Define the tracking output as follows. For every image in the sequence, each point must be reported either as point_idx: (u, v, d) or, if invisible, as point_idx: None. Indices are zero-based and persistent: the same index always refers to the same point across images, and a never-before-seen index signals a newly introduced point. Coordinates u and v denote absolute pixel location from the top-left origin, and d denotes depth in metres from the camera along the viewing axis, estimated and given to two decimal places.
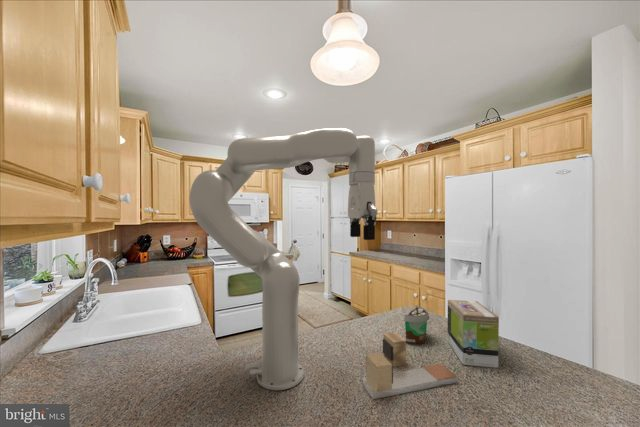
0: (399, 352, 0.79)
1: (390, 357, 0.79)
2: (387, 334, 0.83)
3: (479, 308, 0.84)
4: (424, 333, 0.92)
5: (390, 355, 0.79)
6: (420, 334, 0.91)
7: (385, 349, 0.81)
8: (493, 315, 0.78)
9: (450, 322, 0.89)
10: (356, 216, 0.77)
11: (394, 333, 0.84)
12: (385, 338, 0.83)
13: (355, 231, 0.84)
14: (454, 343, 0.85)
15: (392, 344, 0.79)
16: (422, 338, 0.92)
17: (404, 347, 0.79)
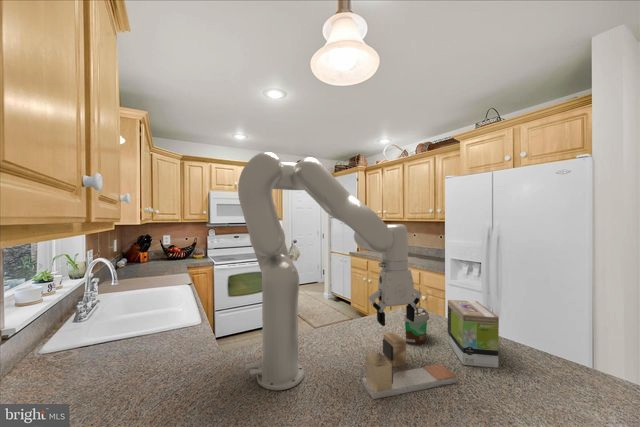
0: (399, 352, 0.79)
1: (390, 357, 0.79)
2: (387, 334, 0.83)
3: (479, 308, 0.84)
4: (424, 333, 0.92)
5: (390, 355, 0.79)
6: (420, 334, 0.91)
7: (385, 349, 0.81)
8: (493, 315, 0.78)
9: (450, 322, 0.89)
10: (408, 302, 0.80)
11: (394, 333, 0.84)
12: (385, 338, 0.83)
13: None
14: (454, 343, 0.85)
15: (392, 344, 0.79)
16: (422, 338, 0.92)
17: (404, 347, 0.79)
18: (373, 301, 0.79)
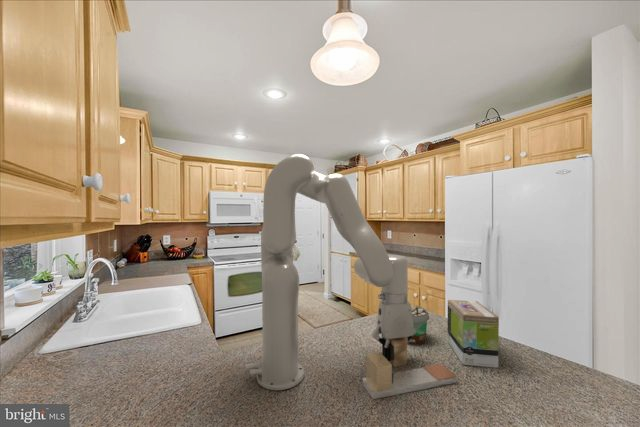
0: (399, 351, 0.79)
1: (391, 357, 0.79)
2: None
3: (479, 308, 0.84)
4: (424, 333, 0.92)
5: (391, 355, 0.79)
6: (420, 334, 0.91)
7: None
8: (493, 315, 0.78)
9: (450, 322, 0.89)
10: (407, 335, 0.79)
11: None
12: None
13: None
14: (454, 343, 0.85)
15: (393, 344, 0.79)
16: (422, 338, 0.92)
17: (405, 347, 0.79)
18: (377, 338, 0.79)
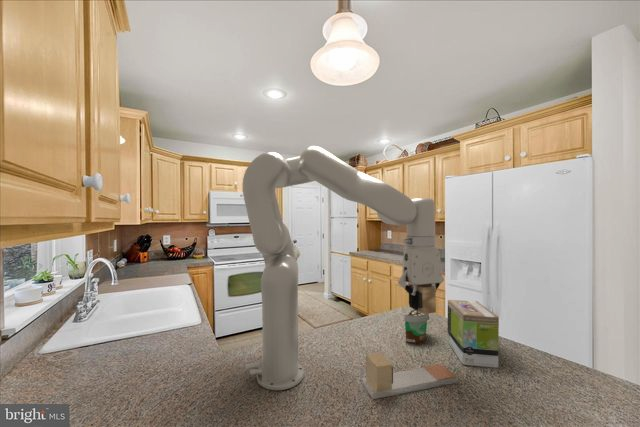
0: (428, 298, 0.73)
1: (419, 304, 0.74)
2: None
3: (479, 308, 0.84)
4: (424, 333, 0.92)
5: (419, 302, 0.73)
6: (420, 334, 0.91)
7: None
8: (493, 315, 0.78)
9: (450, 322, 0.89)
10: (435, 281, 0.74)
11: None
12: None
13: None
14: (454, 343, 0.85)
15: (421, 290, 0.74)
16: (422, 338, 0.92)
17: (434, 294, 0.74)
18: (404, 285, 0.74)
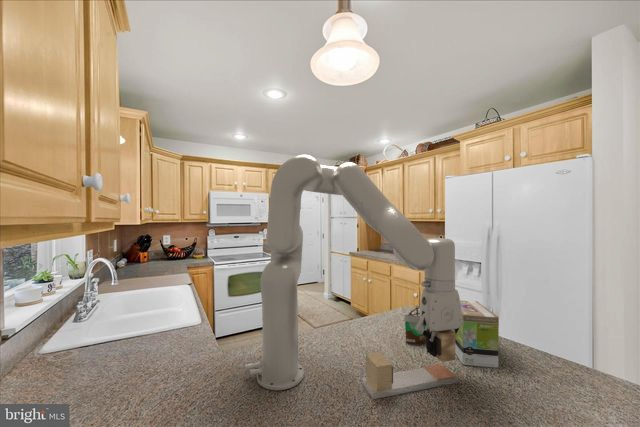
0: (447, 345, 0.70)
1: (438, 351, 0.70)
2: None
3: (479, 308, 0.84)
4: None
5: (438, 349, 0.70)
6: (420, 334, 0.91)
7: None
8: (493, 315, 0.78)
9: None
10: (455, 327, 0.71)
11: None
12: None
13: None
14: None
15: (440, 337, 0.70)
16: (422, 338, 0.92)
17: (453, 340, 0.70)
18: (422, 330, 0.71)
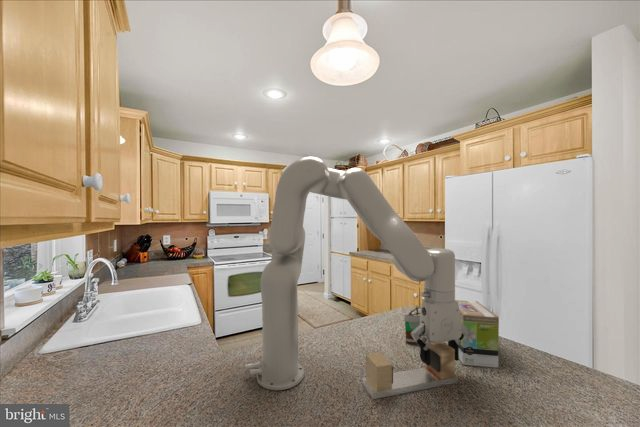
0: (447, 362, 0.70)
1: (437, 368, 0.70)
2: None
3: (479, 308, 0.84)
4: None
5: (437, 366, 0.70)
6: (420, 334, 0.91)
7: (430, 359, 0.73)
8: (493, 315, 0.78)
9: None
10: (454, 338, 0.71)
11: None
12: (429, 346, 0.74)
13: None
14: None
15: (439, 353, 0.70)
16: None
17: (453, 357, 0.70)
18: (417, 337, 0.70)
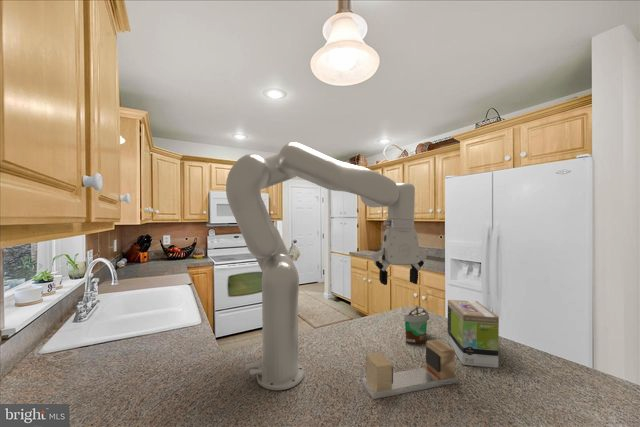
0: (447, 362, 0.70)
1: (437, 368, 0.70)
2: (431, 342, 0.75)
3: (479, 308, 0.84)
4: (424, 333, 0.92)
5: (437, 366, 0.70)
6: (420, 334, 0.91)
7: (430, 359, 0.73)
8: (493, 315, 0.78)
9: (450, 322, 0.89)
10: (412, 263, 0.78)
11: (438, 340, 0.75)
12: (429, 346, 0.74)
13: None
14: (454, 343, 0.85)
15: (439, 353, 0.70)
16: (422, 338, 0.92)
17: (453, 357, 0.70)
18: (376, 259, 0.78)
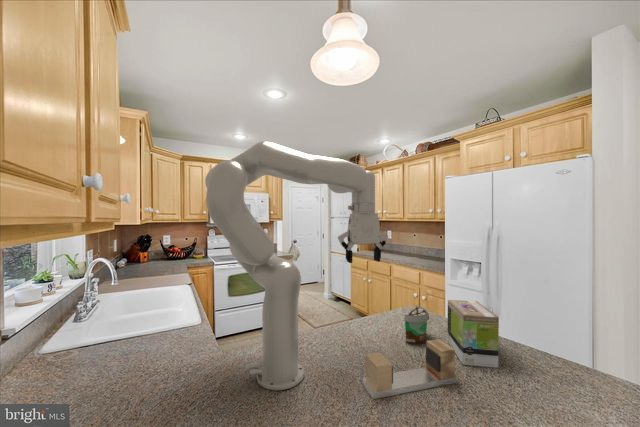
0: (447, 362, 0.70)
1: (437, 368, 0.70)
2: (431, 342, 0.75)
3: (479, 308, 0.84)
4: (424, 333, 0.92)
5: (437, 366, 0.70)
6: (420, 334, 0.91)
7: (430, 359, 0.73)
8: (493, 315, 0.78)
9: (450, 322, 0.89)
10: (374, 242, 0.87)
11: (438, 340, 0.75)
12: (429, 346, 0.74)
13: None
14: (454, 343, 0.85)
15: (439, 353, 0.70)
16: (422, 338, 0.92)
17: (453, 357, 0.70)
18: (342, 240, 0.86)
